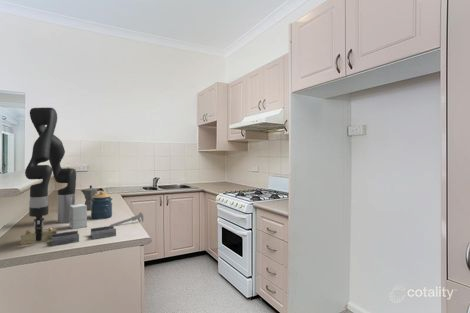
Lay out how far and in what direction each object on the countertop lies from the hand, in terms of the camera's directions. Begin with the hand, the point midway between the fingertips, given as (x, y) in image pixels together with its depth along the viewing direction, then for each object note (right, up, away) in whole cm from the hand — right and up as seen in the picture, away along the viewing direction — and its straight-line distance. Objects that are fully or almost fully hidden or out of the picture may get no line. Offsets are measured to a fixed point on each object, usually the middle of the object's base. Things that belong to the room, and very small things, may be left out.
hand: (38, 238), depth 130 cm
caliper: (+30, -2, +32) cm, 44 cm away
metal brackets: (+20, -2, +5) cm, 20 cm away
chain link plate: (0, -2, 0) cm, 2 cm away
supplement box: (+4, -1, +25) cm, 26 cm away
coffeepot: (-12, 0, +70) cm, 71 cm away
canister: (+7, -1, +48) cm, 48 cm away
